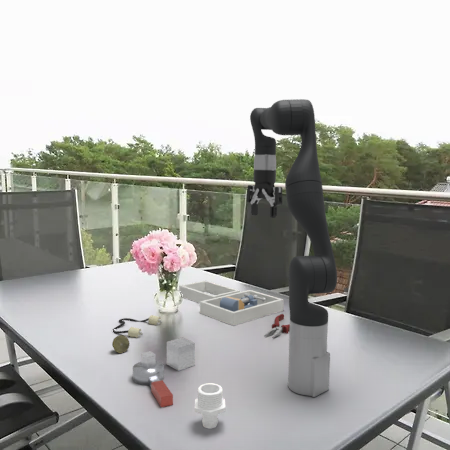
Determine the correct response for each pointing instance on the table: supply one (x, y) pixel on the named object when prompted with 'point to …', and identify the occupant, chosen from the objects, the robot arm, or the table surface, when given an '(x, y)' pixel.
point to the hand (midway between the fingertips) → (263, 216)
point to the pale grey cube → (180, 353)
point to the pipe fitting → (210, 404)
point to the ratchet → (153, 378)
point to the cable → (136, 331)
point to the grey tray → (197, 290)
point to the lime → (120, 343)
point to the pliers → (278, 327)
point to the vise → (239, 302)
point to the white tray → (244, 315)
